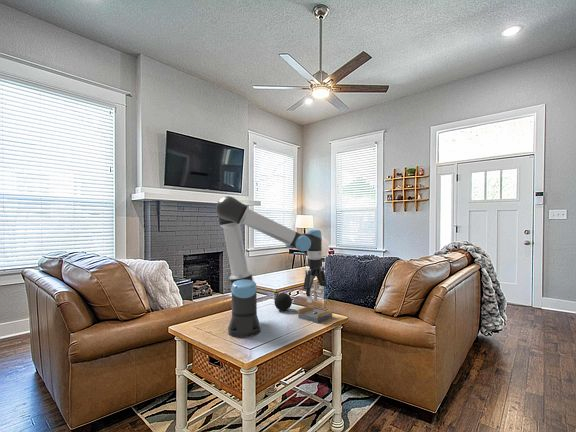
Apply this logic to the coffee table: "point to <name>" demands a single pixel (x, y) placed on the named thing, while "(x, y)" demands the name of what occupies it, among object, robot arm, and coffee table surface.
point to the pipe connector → (316, 291)
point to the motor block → (314, 314)
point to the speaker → (283, 301)
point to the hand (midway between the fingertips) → (315, 300)
